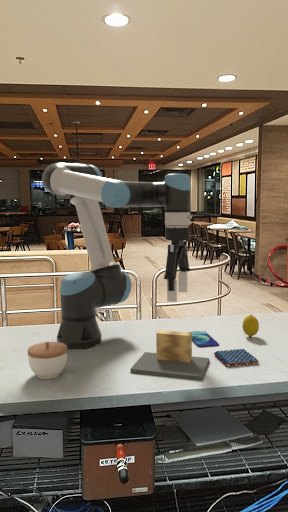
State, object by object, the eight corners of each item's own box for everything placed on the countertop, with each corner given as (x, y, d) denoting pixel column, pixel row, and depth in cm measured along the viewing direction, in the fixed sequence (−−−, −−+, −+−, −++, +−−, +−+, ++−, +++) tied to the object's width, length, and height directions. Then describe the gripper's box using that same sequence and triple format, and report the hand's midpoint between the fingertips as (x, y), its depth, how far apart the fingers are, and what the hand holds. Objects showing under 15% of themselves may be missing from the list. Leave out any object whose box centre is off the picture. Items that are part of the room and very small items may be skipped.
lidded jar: (70, 366, 124) (69, 335, 122) (64, 382, 113) (63, 348, 112) (33, 367, 123) (32, 336, 122) (24, 383, 113) (22, 349, 112)
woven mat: (260, 366, 124) (260, 359, 124) (226, 369, 122) (226, 362, 121) (244, 353, 134) (244, 347, 134) (212, 356, 132) (212, 350, 131)
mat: (130, 372, 119) (130, 368, 119) (145, 355, 132) (145, 352, 132) (201, 380, 113) (201, 376, 113) (209, 361, 127) (209, 358, 126)
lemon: (239, 335, 150) (239, 313, 149) (251, 333, 152) (252, 312, 151) (248, 340, 145) (249, 317, 144) (262, 338, 147) (262, 315, 146)
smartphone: (198, 346, 139) (184, 332, 153) (198, 349, 139) (184, 334, 153) (220, 344, 140) (204, 330, 155) (220, 347, 140) (204, 333, 155)
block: (156, 359, 126) (156, 333, 125) (159, 355, 129) (158, 330, 128) (189, 362, 123) (189, 335, 122) (191, 358, 126) (191, 332, 125)
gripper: (180, 229, 114) (180, 306, 116) (198, 224, 137) (198, 289, 140) (153, 229, 116) (153, 305, 119) (175, 224, 140) (175, 287, 142)
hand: (177, 296), depth 129 cm, fingers open, 13 cm apart
